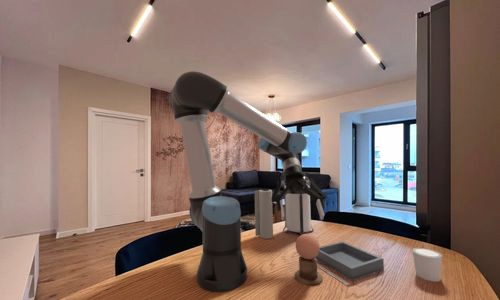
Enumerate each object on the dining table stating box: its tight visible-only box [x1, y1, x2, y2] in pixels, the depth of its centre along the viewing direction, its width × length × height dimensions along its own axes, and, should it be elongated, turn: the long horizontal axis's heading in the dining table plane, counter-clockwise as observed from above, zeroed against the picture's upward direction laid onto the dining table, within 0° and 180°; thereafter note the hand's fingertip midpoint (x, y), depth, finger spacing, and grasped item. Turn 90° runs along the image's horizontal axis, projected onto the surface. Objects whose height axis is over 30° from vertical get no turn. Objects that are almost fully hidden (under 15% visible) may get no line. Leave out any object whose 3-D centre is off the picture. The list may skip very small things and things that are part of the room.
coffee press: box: [282, 175, 314, 236], centre depth 106 cm, size 17×16×30 cm
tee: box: [294, 255, 324, 286], centre depth 64 cm, size 8×8×6 cm
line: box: [317, 263, 351, 286], centre depth 69 cm, size 1×20×1 cm, turn 25°
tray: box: [316, 241, 385, 282], centre depth 72 cm, size 14×16×4 cm
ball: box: [295, 233, 321, 259], centre depth 64 cm, size 7×7×7 cm
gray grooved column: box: [254, 189, 274, 240], centre depth 99 cm, size 7×6×21 cm
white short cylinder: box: [412, 247, 443, 282], centre depth 63 cm, size 7×7×7 cm
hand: (302, 217), depth 73 cm, fingers open, 13 cm apart
